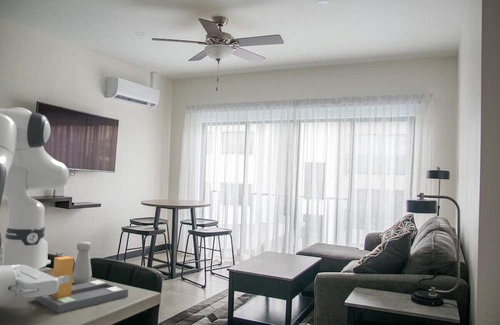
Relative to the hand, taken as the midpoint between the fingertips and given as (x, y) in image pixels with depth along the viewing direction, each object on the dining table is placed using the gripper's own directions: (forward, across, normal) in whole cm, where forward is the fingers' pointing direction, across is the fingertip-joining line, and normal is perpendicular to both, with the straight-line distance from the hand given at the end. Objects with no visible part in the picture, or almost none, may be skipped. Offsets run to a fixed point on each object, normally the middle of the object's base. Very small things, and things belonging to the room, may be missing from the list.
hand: (59, 274), depth 102 cm
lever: (+1, 0, +7) cm, 7 cm away
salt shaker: (+14, +14, +8) cm, 21 cm away
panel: (+7, 0, +8) cm, 10 cm away
